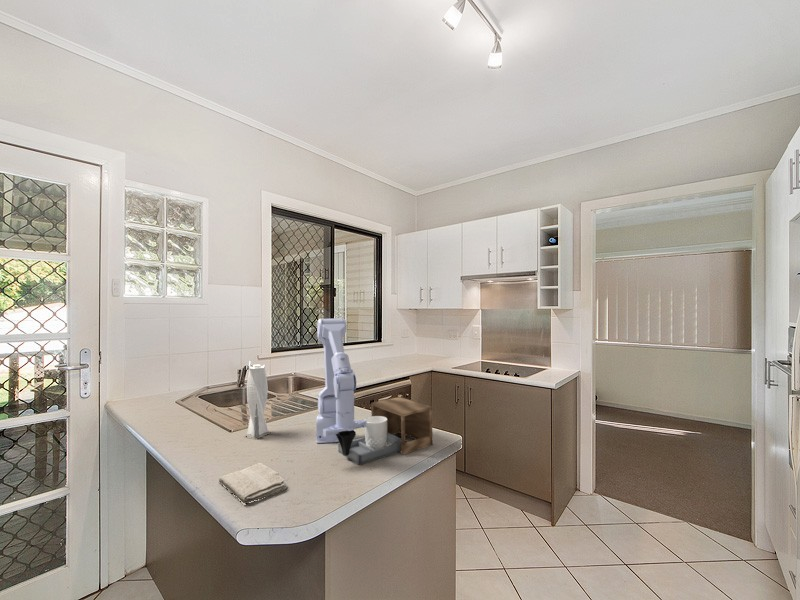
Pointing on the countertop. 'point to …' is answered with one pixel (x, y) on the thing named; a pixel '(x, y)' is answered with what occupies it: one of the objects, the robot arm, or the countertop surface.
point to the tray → (371, 449)
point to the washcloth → (253, 482)
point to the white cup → (376, 432)
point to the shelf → (406, 421)
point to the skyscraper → (257, 401)
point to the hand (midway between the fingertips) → (345, 454)
